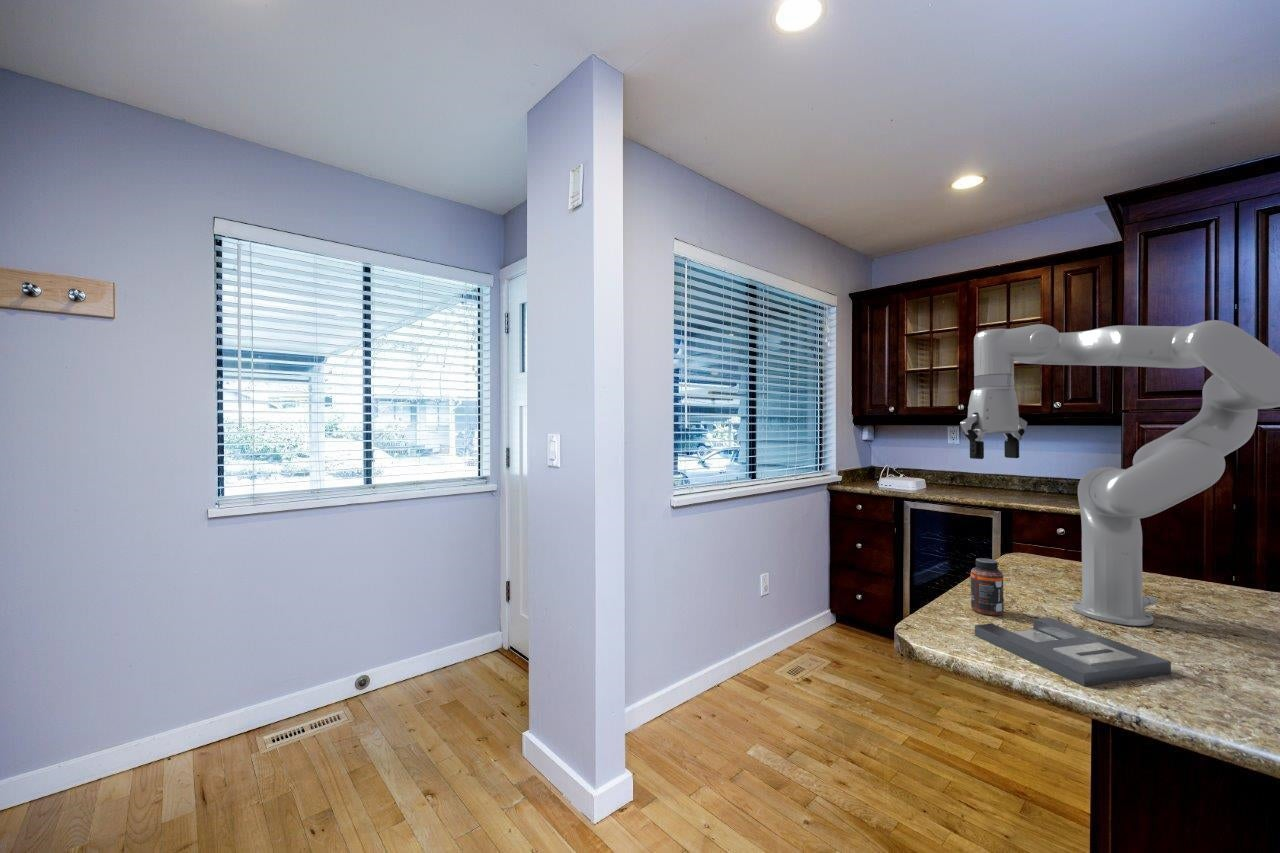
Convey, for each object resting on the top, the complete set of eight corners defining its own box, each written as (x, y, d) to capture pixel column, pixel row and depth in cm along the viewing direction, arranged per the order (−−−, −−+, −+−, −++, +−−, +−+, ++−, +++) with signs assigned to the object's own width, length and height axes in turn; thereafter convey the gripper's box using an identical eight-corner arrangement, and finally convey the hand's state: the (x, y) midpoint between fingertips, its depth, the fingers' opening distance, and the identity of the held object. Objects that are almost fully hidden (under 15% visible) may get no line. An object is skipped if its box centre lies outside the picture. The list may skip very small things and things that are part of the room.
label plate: (1049, 627, 103) (1049, 615, 103) (1171, 673, 84) (1170, 659, 84) (974, 635, 99) (974, 623, 99) (1084, 686, 80) (1083, 671, 80)
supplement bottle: (1009, 617, 108) (1008, 564, 108) (978, 615, 110) (977, 563, 110) (995, 608, 114) (995, 557, 114) (966, 606, 115) (965, 556, 116)
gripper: (1009, 385, 123) (1010, 456, 123) (948, 384, 119) (949, 458, 119) (1040, 382, 116) (1040, 458, 116) (976, 382, 112) (976, 460, 112)
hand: (994, 458), depth 117 cm, fingers open, 9 cm apart
